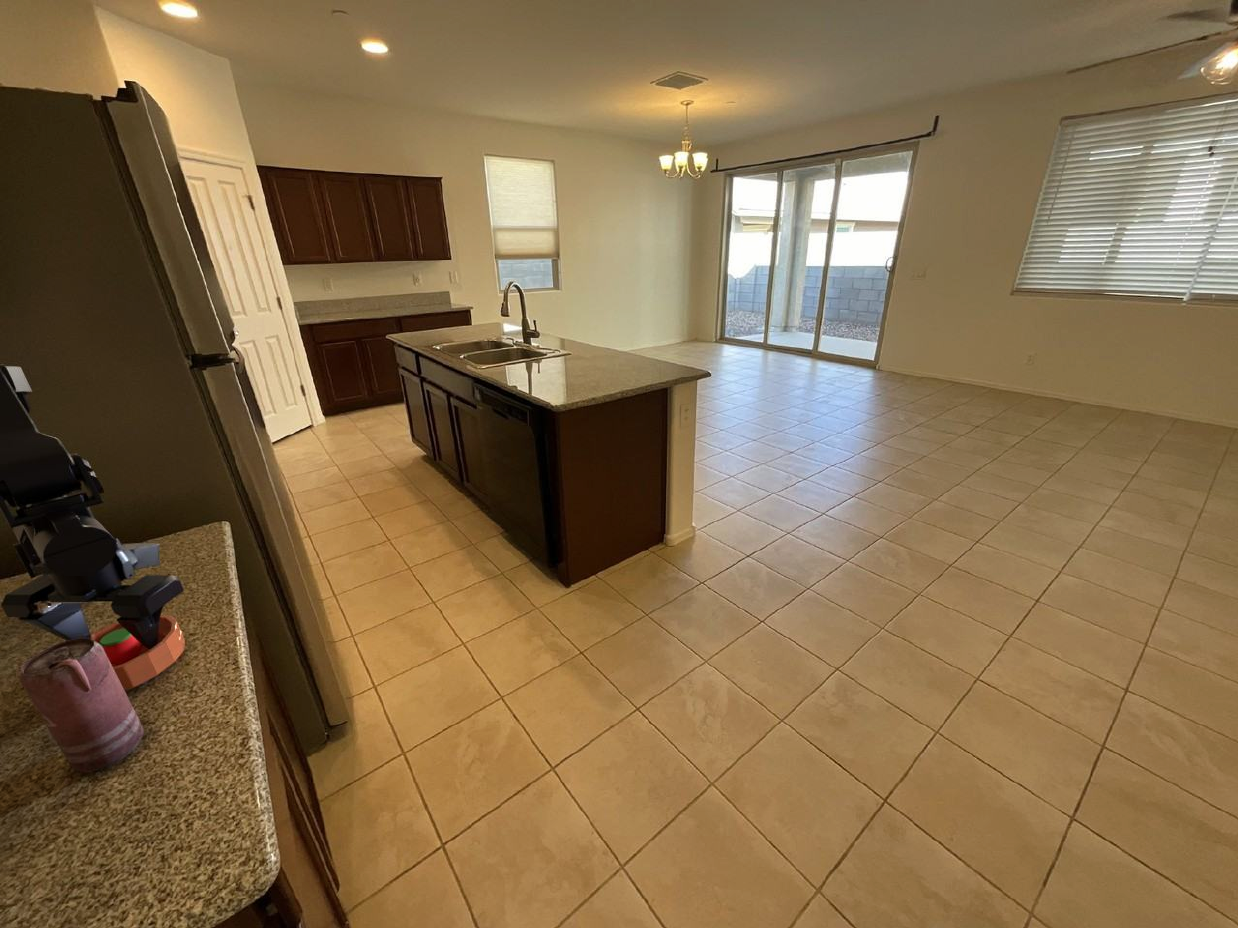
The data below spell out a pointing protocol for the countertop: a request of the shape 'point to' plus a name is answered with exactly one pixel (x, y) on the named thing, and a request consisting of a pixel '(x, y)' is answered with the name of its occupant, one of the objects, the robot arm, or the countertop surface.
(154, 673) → the bowl
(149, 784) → the countertop surface
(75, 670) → the can
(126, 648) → the strawberry
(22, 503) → the robot arm
